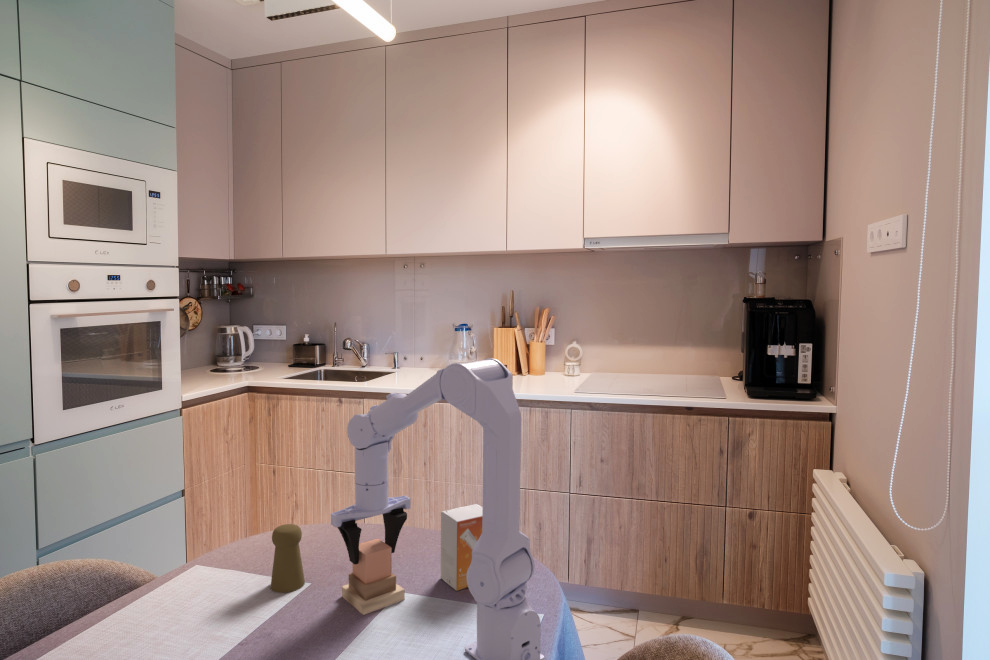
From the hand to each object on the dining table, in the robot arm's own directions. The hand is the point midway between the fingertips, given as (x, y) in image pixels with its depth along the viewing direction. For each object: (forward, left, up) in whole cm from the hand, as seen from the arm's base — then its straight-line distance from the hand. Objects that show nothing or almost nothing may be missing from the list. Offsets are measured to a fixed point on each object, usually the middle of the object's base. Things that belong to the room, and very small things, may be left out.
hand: (372, 556), depth 106 cm
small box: (-5, -17, -8) cm, 19 cm away
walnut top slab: (0, 0, -6) cm, 6 cm away
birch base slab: (0, 0, -8) cm, 8 cm away
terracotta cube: (0, 0, -3) cm, 3 cm away
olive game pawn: (+14, +10, -8) cm, 19 cm away
